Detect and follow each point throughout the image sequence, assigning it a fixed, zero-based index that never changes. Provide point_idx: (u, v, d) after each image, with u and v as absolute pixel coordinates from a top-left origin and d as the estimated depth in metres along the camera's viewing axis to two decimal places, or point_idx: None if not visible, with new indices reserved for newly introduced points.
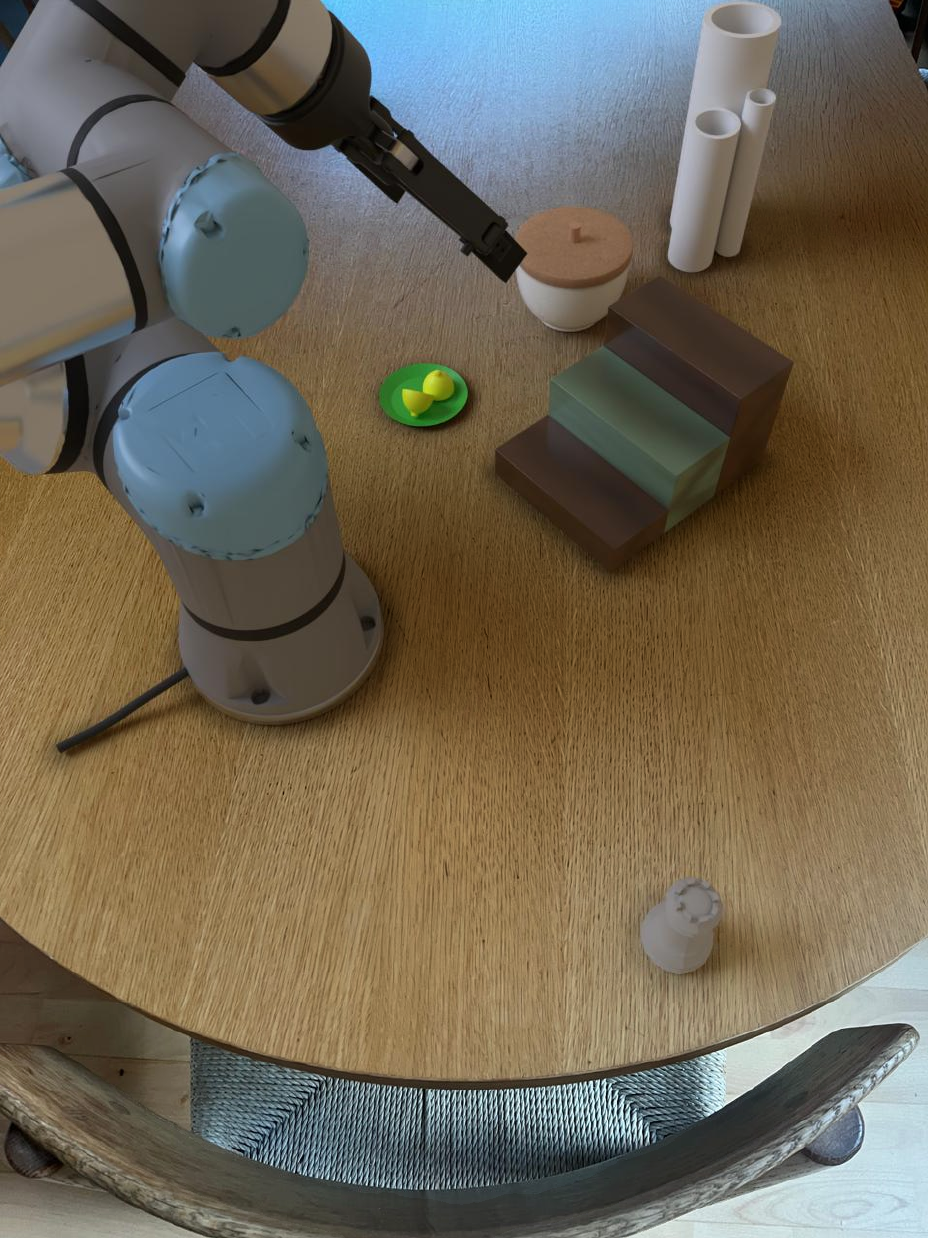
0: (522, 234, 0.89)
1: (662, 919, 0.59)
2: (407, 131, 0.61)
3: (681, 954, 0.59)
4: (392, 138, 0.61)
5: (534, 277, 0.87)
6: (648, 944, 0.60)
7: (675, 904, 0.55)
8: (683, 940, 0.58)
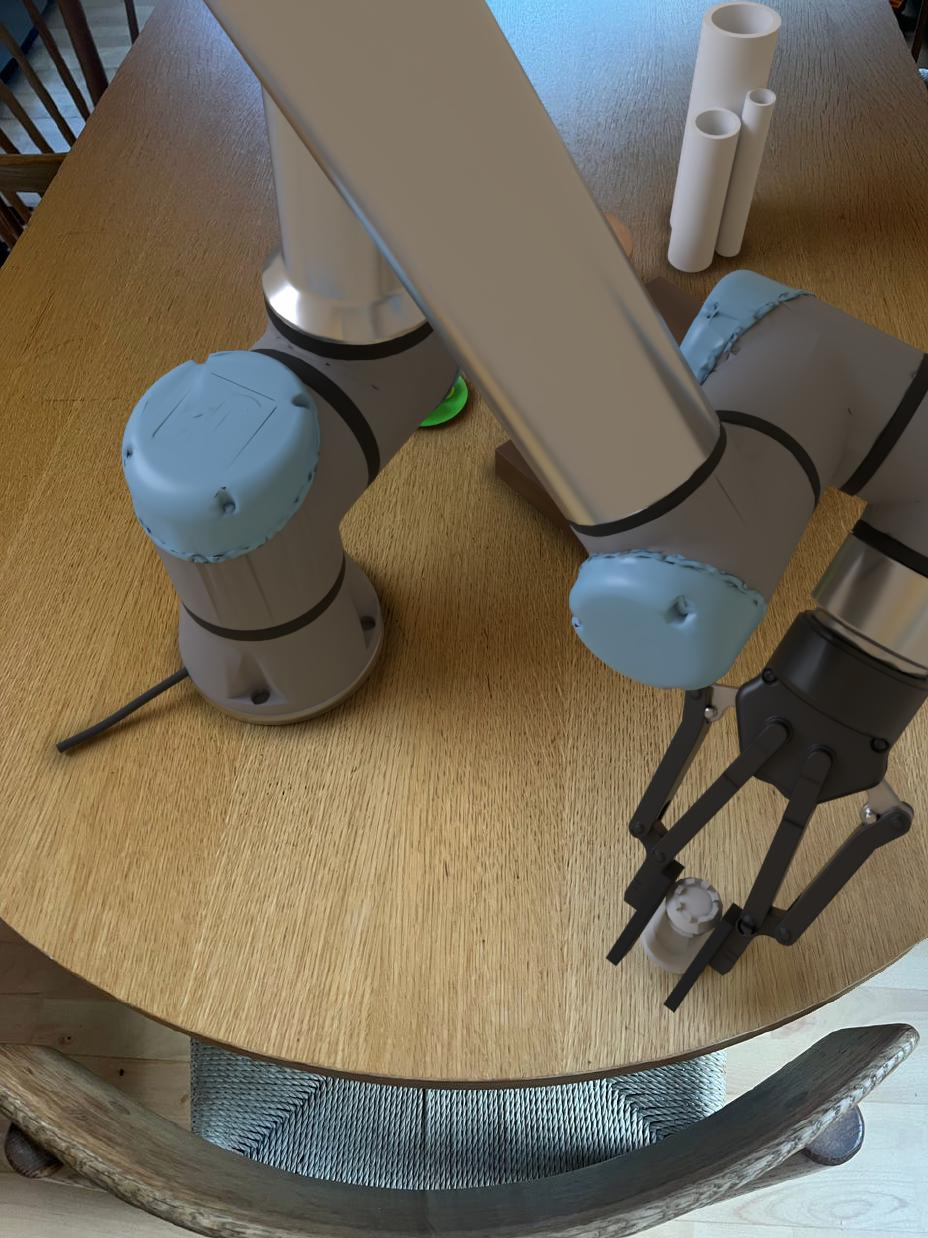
0: None
1: (662, 919, 0.59)
2: None
3: (681, 954, 0.59)
4: (901, 802, 0.51)
5: None
6: (648, 944, 0.60)
7: (675, 904, 0.55)
8: (683, 940, 0.58)
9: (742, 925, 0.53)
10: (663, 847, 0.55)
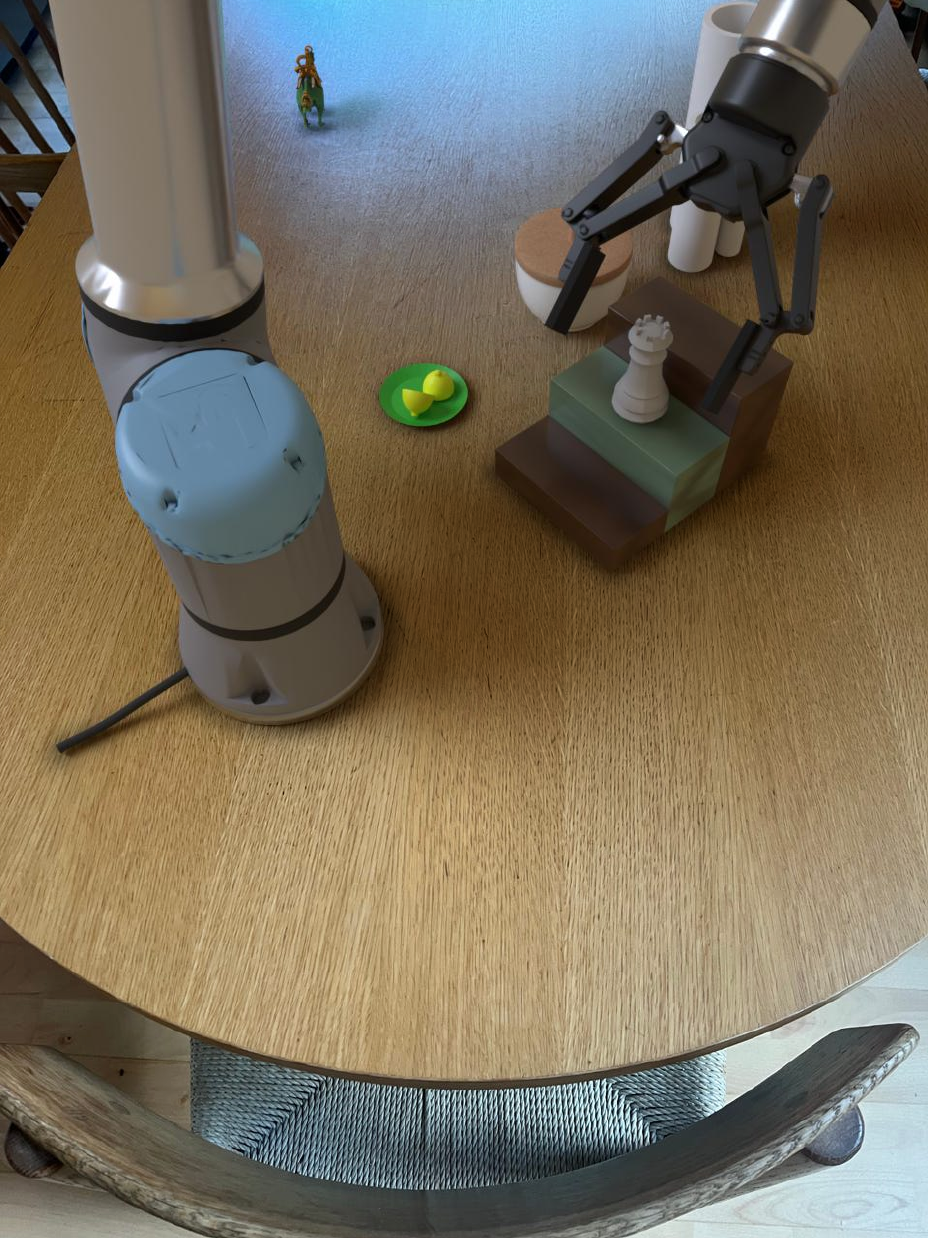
0: (522, 234, 0.89)
1: (627, 369, 0.75)
2: None
3: (642, 396, 0.75)
4: None
5: (534, 277, 0.87)
6: (617, 398, 0.76)
7: (635, 329, 0.71)
8: (643, 376, 0.74)
9: (764, 316, 0.66)
10: (590, 224, 0.72)
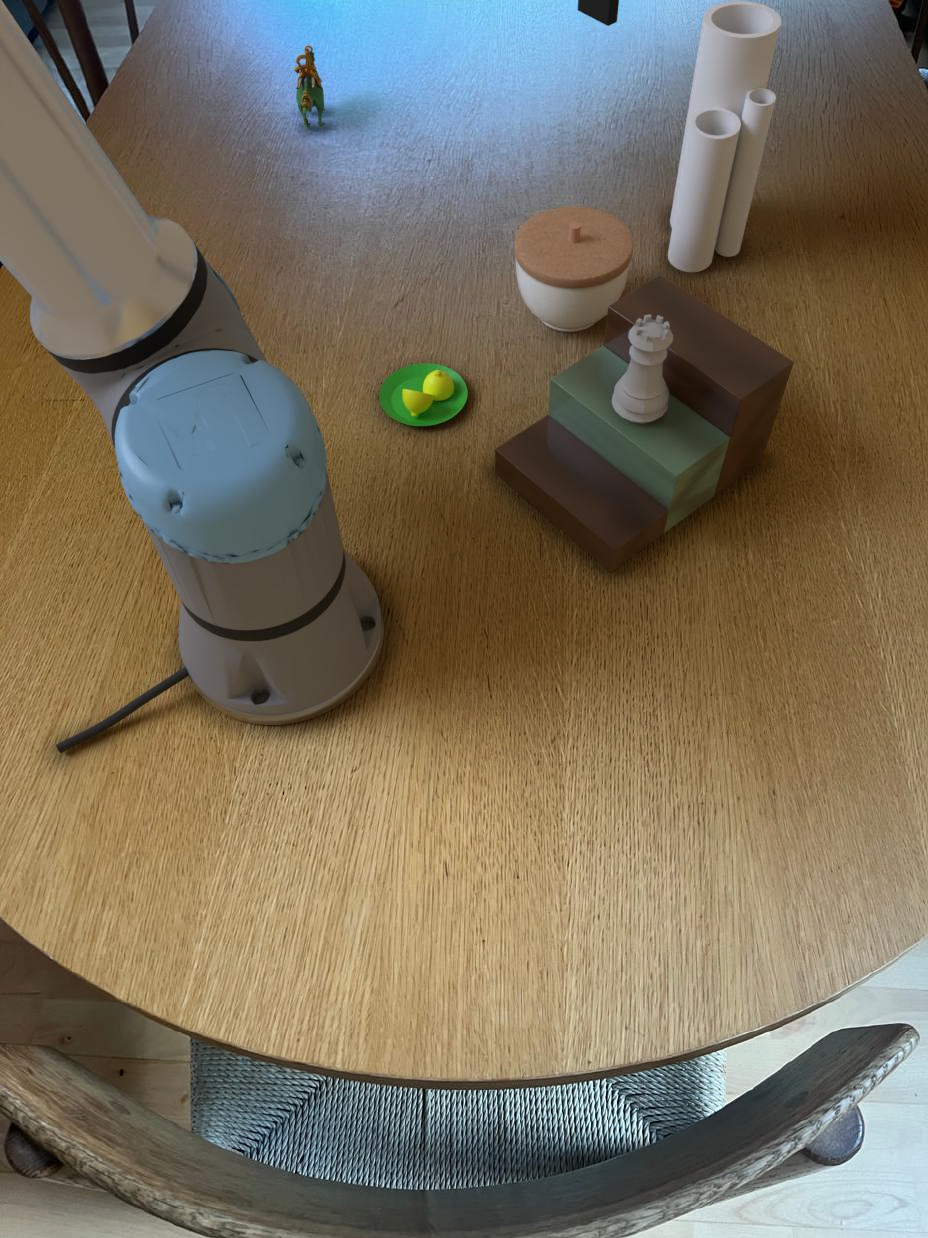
0: (522, 234, 0.89)
1: None
2: None
3: (642, 396, 0.75)
4: None
5: (534, 277, 0.87)
6: (617, 398, 0.76)
7: (635, 329, 0.71)
8: (643, 376, 0.74)
9: None
10: None
